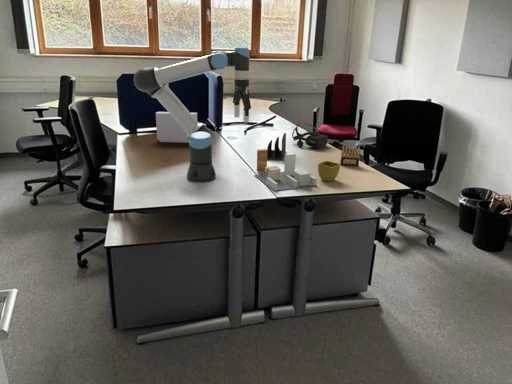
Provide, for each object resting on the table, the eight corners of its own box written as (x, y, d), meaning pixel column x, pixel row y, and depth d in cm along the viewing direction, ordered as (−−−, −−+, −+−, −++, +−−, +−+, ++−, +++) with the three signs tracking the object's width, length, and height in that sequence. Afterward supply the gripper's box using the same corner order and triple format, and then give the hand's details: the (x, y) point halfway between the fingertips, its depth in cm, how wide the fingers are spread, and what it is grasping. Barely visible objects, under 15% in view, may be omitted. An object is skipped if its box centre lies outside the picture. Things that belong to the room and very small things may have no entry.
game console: (196, 143, 291) (195, 114, 284) (157, 142, 292) (155, 113, 285) (198, 141, 297) (197, 112, 290) (159, 140, 297) (157, 111, 290)
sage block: (283, 175, 229) (284, 153, 225) (293, 173, 231) (294, 152, 227) (299, 186, 213) (300, 163, 209) (309, 184, 216) (311, 162, 211)
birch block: (255, 170, 235) (256, 149, 231) (265, 169, 237) (266, 148, 233) (269, 181, 219) (270, 158, 215) (280, 179, 222) (281, 157, 217)
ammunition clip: (358, 165, 250) (360, 146, 246) (358, 166, 249) (360, 146, 244) (340, 164, 252) (342, 144, 248) (340, 165, 251) (341, 145, 246)
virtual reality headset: (315, 153, 280) (319, 131, 273) (285, 143, 292) (289, 122, 285) (328, 147, 294) (333, 127, 287) (300, 138, 306) (303, 118, 299)
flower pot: (339, 180, 226) (341, 163, 222) (330, 183, 220) (332, 167, 216) (325, 176, 231) (326, 160, 228) (316, 179, 225) (317, 163, 222)
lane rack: (254, 176, 229) (254, 168, 227) (293, 171, 238) (294, 164, 236) (274, 191, 207) (274, 184, 206) (316, 185, 216) (317, 178, 215)
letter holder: (285, 152, 275) (286, 131, 270) (282, 161, 256) (283, 138, 251) (270, 151, 276) (271, 130, 271) (266, 160, 258) (267, 137, 253)
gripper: (258, 81, 210) (257, 123, 217) (239, 76, 231) (239, 114, 239) (243, 81, 207) (243, 124, 214) (226, 76, 228) (227, 115, 236)
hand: (241, 119), depth 226 cm, fingers open, 13 cm apart
